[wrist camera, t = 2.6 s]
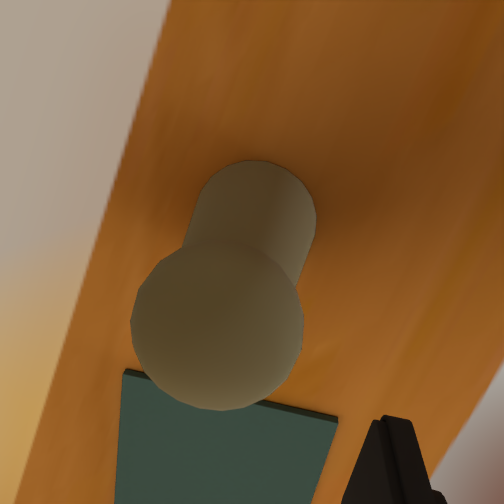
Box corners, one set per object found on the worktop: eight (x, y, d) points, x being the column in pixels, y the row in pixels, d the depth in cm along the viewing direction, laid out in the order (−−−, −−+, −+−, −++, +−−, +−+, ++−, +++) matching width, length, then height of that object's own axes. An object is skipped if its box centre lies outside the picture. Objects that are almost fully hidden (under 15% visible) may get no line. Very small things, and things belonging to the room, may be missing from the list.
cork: (311, 153, 20) (309, 250, 10) (321, 272, 23) (326, 444, 13) (184, 167, 21) (70, 266, 11) (206, 279, 24) (127, 444, 14)
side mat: (338, 417, 26) (338, 423, 26) (278, 591, 34) (277, 598, 33) (125, 368, 27) (122, 373, 26) (113, 550, 34) (110, 557, 34)
